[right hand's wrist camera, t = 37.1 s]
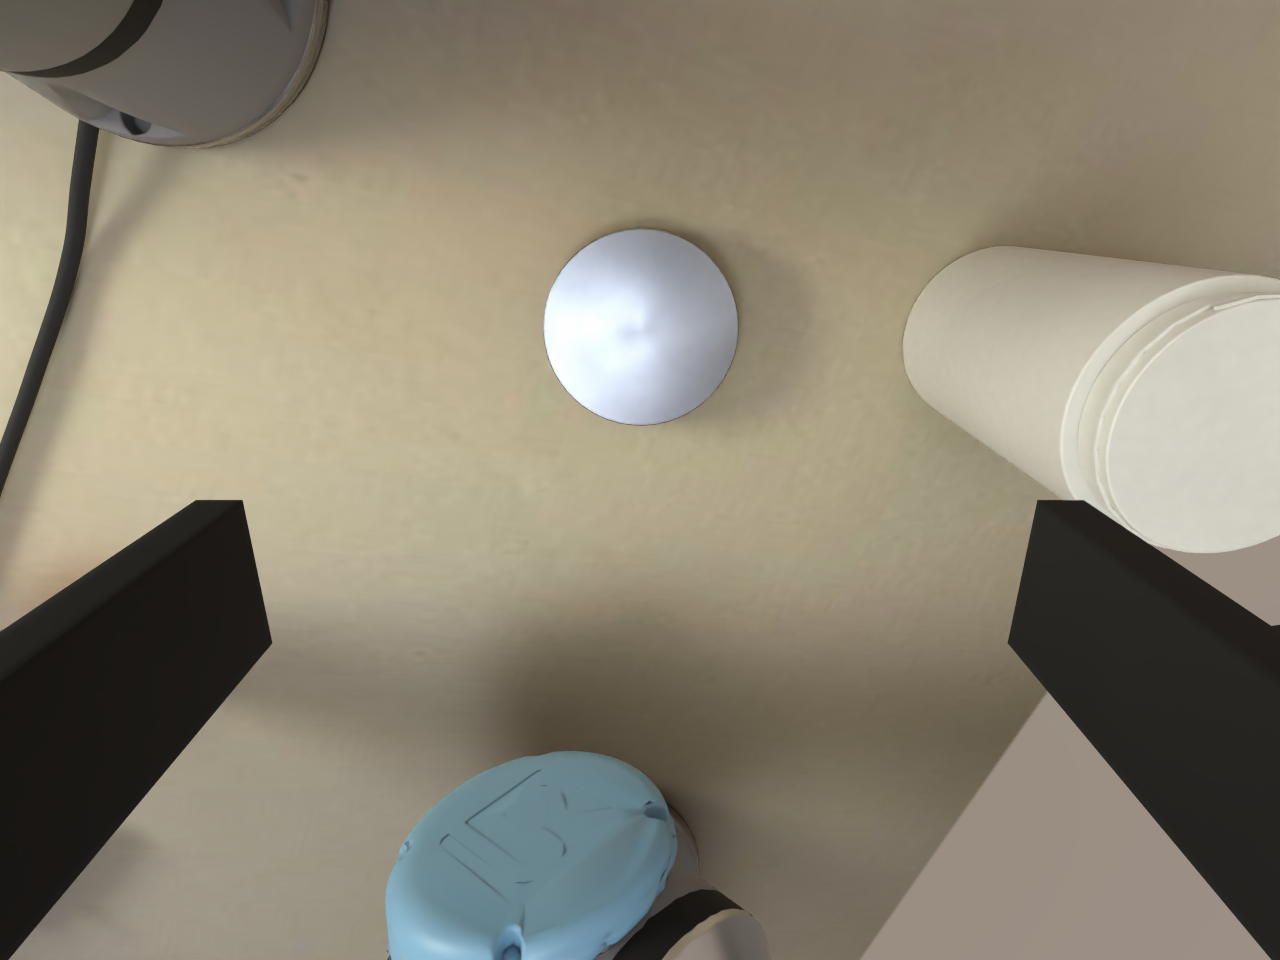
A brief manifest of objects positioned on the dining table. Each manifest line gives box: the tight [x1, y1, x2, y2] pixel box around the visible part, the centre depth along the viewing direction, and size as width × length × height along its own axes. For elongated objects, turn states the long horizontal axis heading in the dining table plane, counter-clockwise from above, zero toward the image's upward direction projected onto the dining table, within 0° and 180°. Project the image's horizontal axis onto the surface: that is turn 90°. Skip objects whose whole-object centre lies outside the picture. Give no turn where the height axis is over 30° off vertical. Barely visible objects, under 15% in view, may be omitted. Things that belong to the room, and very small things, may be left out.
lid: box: [543, 227, 739, 425], centre depth 38 cm, size 10×10×2 cm
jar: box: [903, 246, 1280, 553], centre depth 31 cm, size 9×9×17 cm
